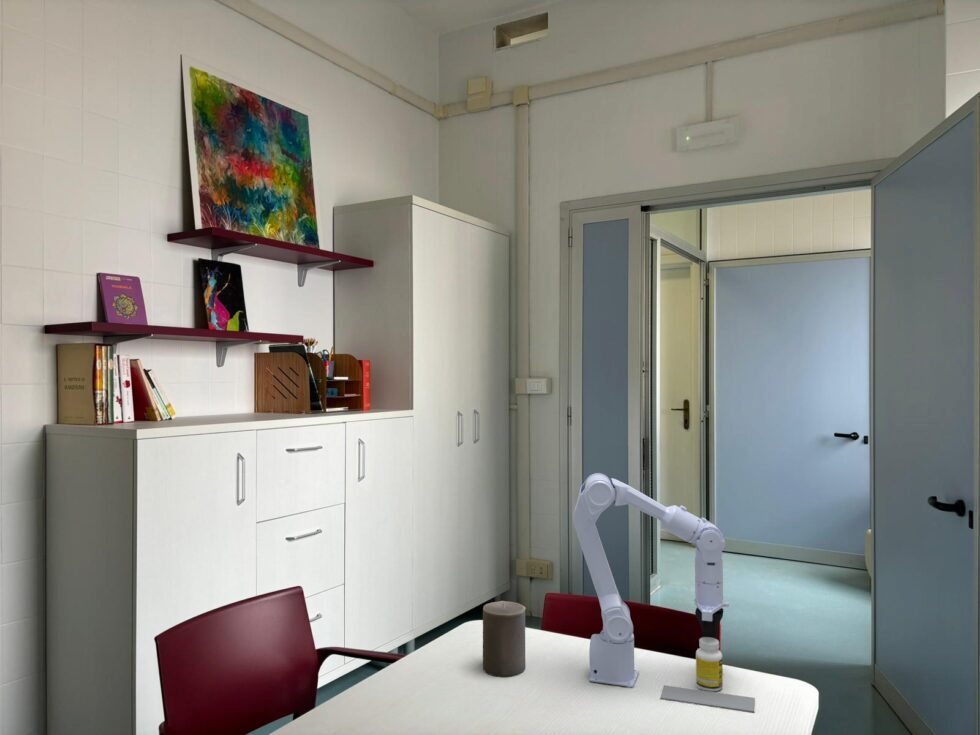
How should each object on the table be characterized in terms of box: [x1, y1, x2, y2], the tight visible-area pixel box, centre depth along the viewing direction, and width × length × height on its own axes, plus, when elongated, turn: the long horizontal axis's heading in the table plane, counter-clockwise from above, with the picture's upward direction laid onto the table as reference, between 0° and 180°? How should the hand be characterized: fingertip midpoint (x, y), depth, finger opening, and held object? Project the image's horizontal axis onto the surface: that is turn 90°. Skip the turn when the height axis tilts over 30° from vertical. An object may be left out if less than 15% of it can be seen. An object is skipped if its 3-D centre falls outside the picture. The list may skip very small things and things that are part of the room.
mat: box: [659, 684, 756, 713], centre depth 146 cm, size 18×6×1 cm, turn 69°
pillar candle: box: [482, 600, 527, 678], centre depth 163 cm, size 10×10×15 cm
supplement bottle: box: [695, 636, 724, 692], centre depth 152 cm, size 5×5×10 cm
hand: (709, 643), depth 155 cm, fingers closed
